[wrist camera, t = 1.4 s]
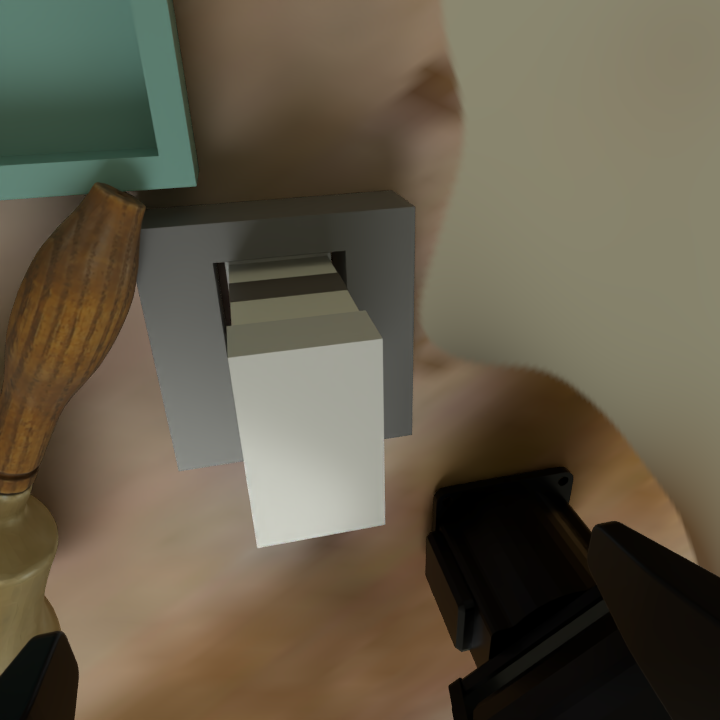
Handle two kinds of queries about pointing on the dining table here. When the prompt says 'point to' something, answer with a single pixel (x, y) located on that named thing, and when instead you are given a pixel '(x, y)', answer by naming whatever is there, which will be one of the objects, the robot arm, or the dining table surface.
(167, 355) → the socket block
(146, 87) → the parts tray
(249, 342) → the block
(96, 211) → the hand bell
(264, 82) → the dining table surface
